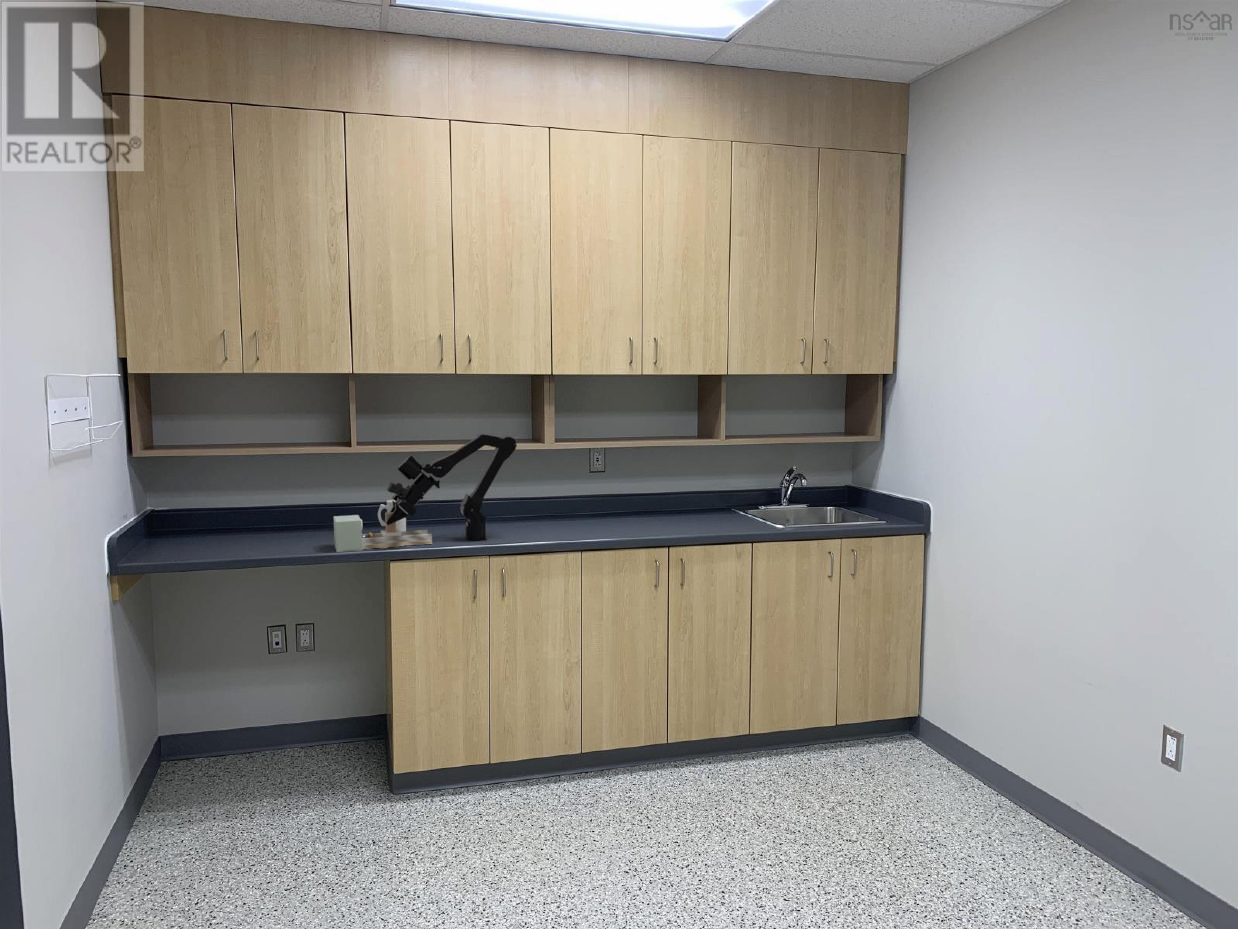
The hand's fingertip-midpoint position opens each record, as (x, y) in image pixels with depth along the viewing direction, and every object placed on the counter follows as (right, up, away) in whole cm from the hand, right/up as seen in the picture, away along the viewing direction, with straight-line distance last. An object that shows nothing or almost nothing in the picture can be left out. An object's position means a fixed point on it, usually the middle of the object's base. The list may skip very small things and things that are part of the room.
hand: (386, 523), depth 283 cm
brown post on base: (+1, -6, +1) cm, 6 cm away
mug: (-4, -6, +22) cm, 23 cm away
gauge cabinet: (-11, -8, -4) cm, 15 cm away
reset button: (-7, -6, -2) cm, 10 cm away
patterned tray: (+3, -7, +2) cm, 8 cm away
